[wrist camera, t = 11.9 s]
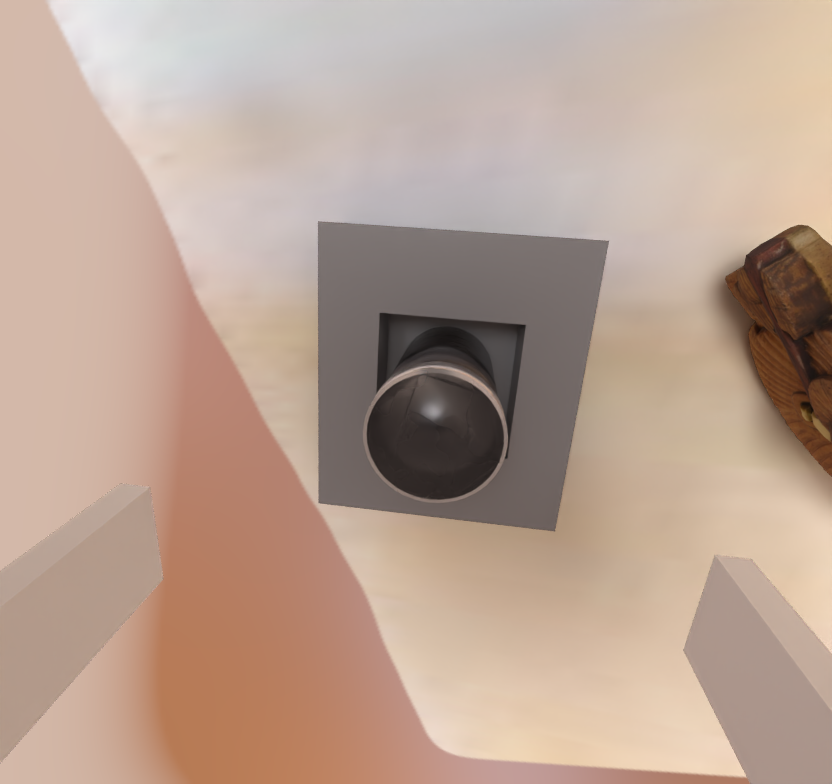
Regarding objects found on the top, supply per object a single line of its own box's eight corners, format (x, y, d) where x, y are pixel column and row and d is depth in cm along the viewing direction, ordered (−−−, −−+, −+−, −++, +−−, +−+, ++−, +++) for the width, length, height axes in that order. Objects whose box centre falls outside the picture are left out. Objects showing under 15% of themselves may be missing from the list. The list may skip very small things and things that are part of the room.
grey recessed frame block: (339, 223, 27) (318, 221, 23) (588, 240, 26) (608, 241, 22) (336, 471, 32) (318, 503, 28) (544, 495, 31) (554, 531, 27)
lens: (400, 320, 28) (364, 363, 18) (499, 327, 27) (516, 375, 18) (395, 412, 29) (361, 495, 20) (489, 421, 29) (499, 509, 20)
